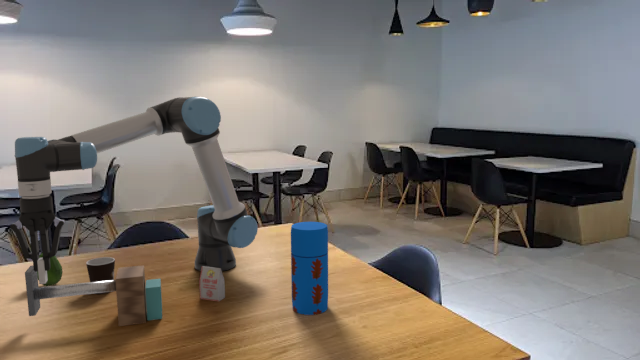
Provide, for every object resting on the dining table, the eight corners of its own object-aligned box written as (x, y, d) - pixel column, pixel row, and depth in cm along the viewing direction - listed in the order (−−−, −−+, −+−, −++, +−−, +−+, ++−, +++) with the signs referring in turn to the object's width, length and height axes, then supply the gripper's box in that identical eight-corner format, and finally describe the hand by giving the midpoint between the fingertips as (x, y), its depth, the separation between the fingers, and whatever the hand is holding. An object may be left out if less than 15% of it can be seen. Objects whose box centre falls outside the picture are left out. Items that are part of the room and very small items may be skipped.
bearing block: (146, 309, 151) (144, 265, 149) (145, 322, 141) (142, 276, 139) (121, 312, 149) (118, 267, 147) (118, 326, 139) (115, 278, 137)
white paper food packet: (206, 294, 162) (205, 264, 161) (225, 297, 160) (223, 266, 158) (200, 298, 159) (198, 268, 157) (218, 301, 157) (217, 270, 155)
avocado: (32, 287, 170) (28, 252, 168) (54, 280, 176) (51, 246, 175) (47, 291, 166) (44, 256, 164) (69, 284, 173) (66, 249, 171)
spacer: (162, 309, 151) (160, 278, 149) (162, 318, 144) (160, 286, 143) (148, 310, 150) (146, 280, 148) (147, 320, 143) (145, 288, 142)
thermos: (301, 318, 144) (300, 232, 140) (286, 304, 153) (284, 224, 150) (334, 310, 149) (334, 227, 145) (318, 298, 158) (317, 220, 155)
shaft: (132, 296, 147) (130, 256, 145) (131, 304, 142) (128, 263, 140) (34, 307, 140) (30, 265, 138) (29, 316, 134) (24, 272, 132)
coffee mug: (106, 296, 161) (104, 265, 160) (82, 294, 163) (80, 264, 162) (127, 283, 173) (125, 255, 171) (104, 282, 174) (102, 253, 173)
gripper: (3, 200, 128) (12, 289, 131) (60, 197, 132) (67, 284, 135) (11, 195, 135) (20, 280, 139) (65, 192, 139) (72, 275, 142)
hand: (43, 282), depth 137 cm, fingers closed
